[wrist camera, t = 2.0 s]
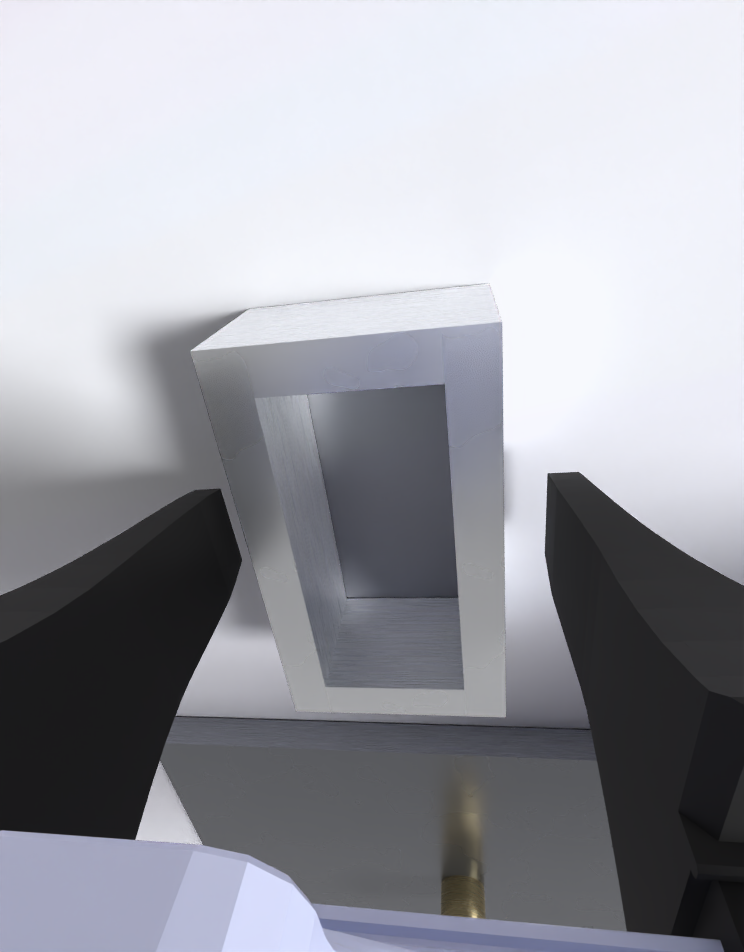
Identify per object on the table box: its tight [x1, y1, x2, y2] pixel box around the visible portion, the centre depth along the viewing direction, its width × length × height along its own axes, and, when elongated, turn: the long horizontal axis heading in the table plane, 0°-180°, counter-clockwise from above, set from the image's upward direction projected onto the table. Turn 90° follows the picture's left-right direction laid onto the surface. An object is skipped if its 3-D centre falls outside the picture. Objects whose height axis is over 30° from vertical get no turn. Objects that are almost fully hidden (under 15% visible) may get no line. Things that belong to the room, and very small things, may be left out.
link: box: [190, 283, 506, 717], centre depth 12 cm, size 9×5×3 cm, turn 7°
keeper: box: [160, 717, 627, 932], centre depth 19 cm, size 20×16×5 cm
